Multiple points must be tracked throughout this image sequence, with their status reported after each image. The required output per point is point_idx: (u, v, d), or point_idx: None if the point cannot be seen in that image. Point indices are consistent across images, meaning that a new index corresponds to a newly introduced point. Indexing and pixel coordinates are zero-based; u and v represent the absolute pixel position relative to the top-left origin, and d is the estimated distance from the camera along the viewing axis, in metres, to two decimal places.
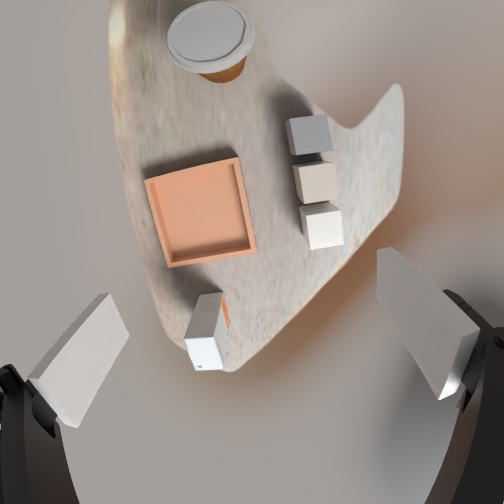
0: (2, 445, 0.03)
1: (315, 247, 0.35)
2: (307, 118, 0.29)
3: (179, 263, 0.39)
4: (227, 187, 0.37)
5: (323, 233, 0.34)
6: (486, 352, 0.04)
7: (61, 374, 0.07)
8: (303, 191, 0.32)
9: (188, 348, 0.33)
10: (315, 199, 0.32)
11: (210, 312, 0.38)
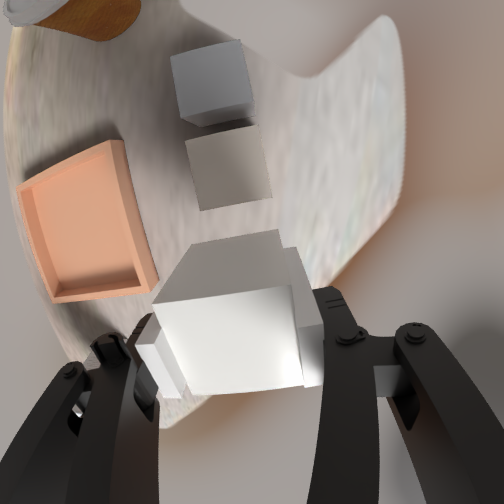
0: (83, 429, 0.05)
1: (205, 390, 0.10)
2: (202, 50, 0.13)
3: (62, 299, 0.24)
4: (107, 189, 0.21)
5: (227, 360, 0.09)
6: (326, 353, 0.06)
7: None
8: (196, 186, 0.16)
9: None
10: (221, 201, 0.16)
11: None
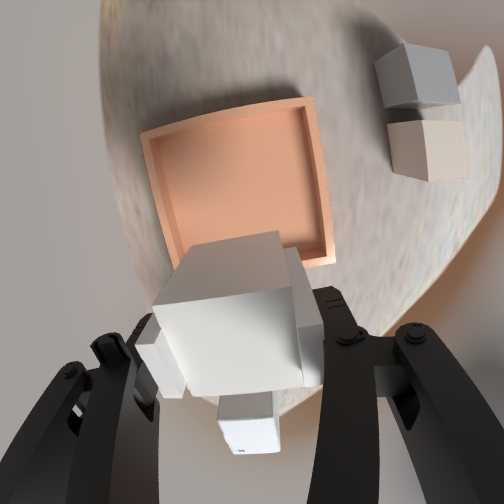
0: (83, 429, 0.05)
1: (205, 392, 0.10)
2: (426, 49, 0.12)
3: None
4: (288, 149, 0.21)
5: (227, 361, 0.09)
6: (326, 353, 0.06)
7: None
8: (428, 160, 0.16)
9: (224, 431, 0.17)
10: (442, 176, 0.16)
11: None
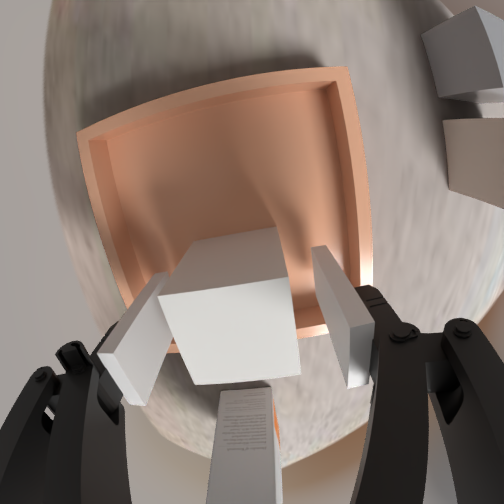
0: (54, 431, 0.04)
1: (207, 380, 0.10)
2: (500, 21, 0.04)
3: (174, 347, 0.15)
4: (306, 151, 0.13)
5: (228, 349, 0.10)
6: (380, 350, 0.06)
7: (132, 348, 0.09)
8: None
9: None
10: None
11: (254, 453, 0.14)
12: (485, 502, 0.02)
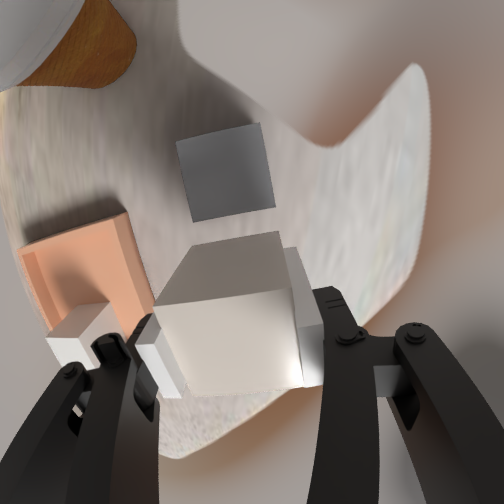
0: (83, 429, 0.05)
1: None
2: (214, 136, 0.13)
3: None
4: (114, 263, 0.21)
5: None
6: (326, 353, 0.06)
7: None
8: (183, 371, 0.09)
9: None
10: (224, 390, 0.10)
11: None
12: None
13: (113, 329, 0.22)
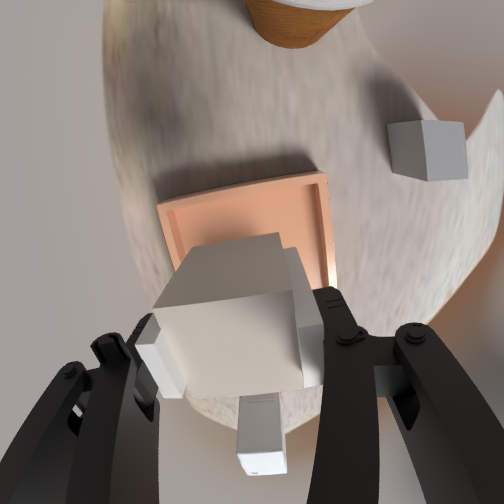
0: (83, 429, 0.05)
1: None
2: (442, 124, 0.14)
3: None
4: (299, 220, 0.23)
5: None
6: (326, 353, 0.06)
7: None
8: (183, 372, 0.09)
9: (242, 460, 0.19)
10: (225, 391, 0.10)
11: (266, 404, 0.24)
12: None
13: None
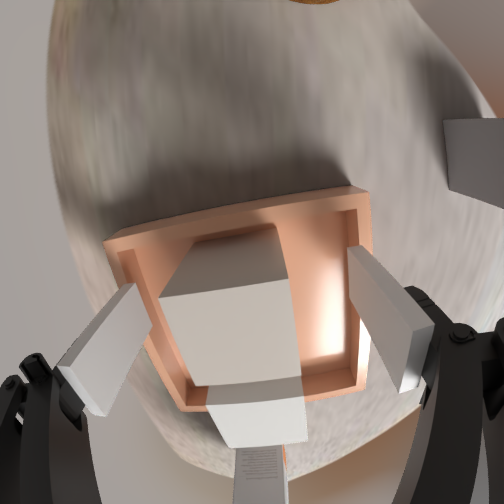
0: (23, 438, 0.04)
1: (238, 445, 0.12)
2: None
3: (204, 408, 0.17)
4: (321, 262, 0.15)
5: (256, 431, 0.12)
6: (441, 349, 0.05)
7: (91, 361, 0.08)
8: (186, 360, 0.10)
9: None
10: (226, 378, 0.10)
11: (268, 481, 0.16)
12: None
13: None
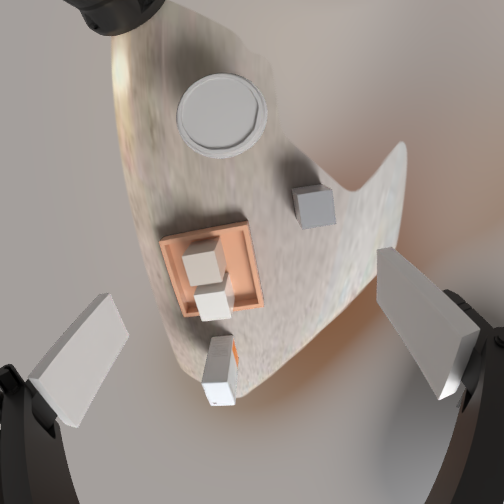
0: (2, 445, 0.03)
1: (205, 319, 0.39)
2: (314, 194, 0.33)
3: (194, 314, 0.43)
4: (237, 249, 0.41)
5: (211, 309, 0.38)
6: (486, 352, 0.04)
7: (61, 374, 0.07)
8: (188, 276, 0.37)
9: (205, 389, 0.37)
10: (199, 282, 0.37)
11: (222, 357, 0.42)
12: None
13: (231, 289, 0.42)
